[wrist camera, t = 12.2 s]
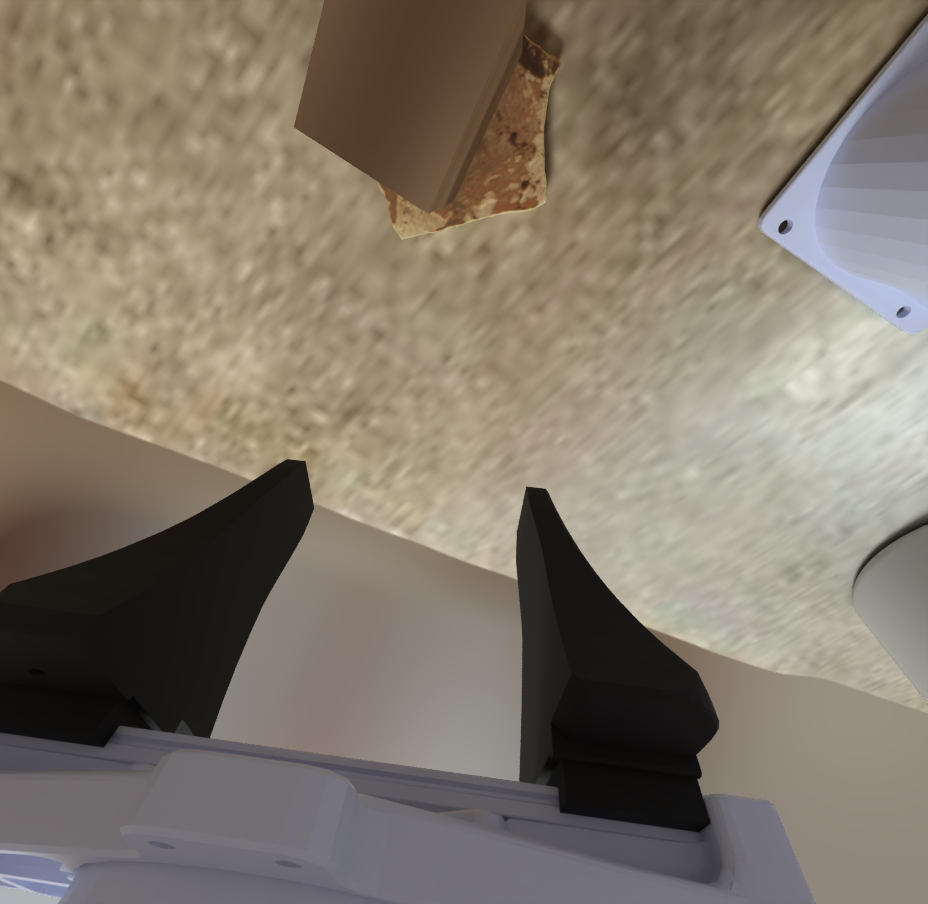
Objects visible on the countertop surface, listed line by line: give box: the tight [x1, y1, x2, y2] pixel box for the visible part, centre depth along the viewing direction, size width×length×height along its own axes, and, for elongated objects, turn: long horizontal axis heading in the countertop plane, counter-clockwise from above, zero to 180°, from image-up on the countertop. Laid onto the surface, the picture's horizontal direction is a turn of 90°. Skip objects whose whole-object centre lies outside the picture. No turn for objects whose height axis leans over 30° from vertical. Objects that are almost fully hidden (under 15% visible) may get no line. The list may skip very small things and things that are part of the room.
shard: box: [377, 34, 560, 240], centre depth 15 cm, size 11×8×2 cm
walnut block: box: [294, 0, 527, 214], centre depth 12 cm, size 4×5×6 cm
